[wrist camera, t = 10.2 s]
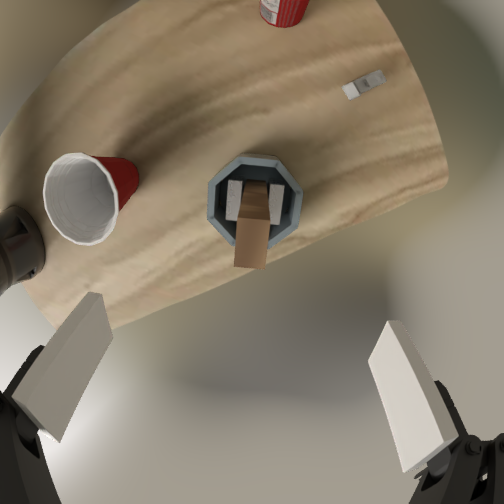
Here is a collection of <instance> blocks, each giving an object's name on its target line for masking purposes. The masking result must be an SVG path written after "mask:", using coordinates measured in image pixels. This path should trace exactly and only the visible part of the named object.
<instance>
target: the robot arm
mask: <svg viewBox="0 0 504 504" xmlns="http://www.w3.org/2000/svg"><path fill="white" fill-rule="evenodd" d="M44 261H45V251H44V245H43V241H42V237H41V235H40V232H39V230H38V228H37V226H36V224H35V222H34V220H33V219H32V218H31V216H30V215H29V214H28V213H27V212H26V211H25V210H23V209H22V208H20V207H17V206H12V207H10V208H8V209H6V210H4V211H2V212H1V213H0V296H1V295H2V294H3V293H4V292H5V291H6V290H7V289H8V288H9V287H10V286H12V285H14V284H17V283H20V282H23V281H26V280H29V279H32V278H33V277H35V276H36V275H37V274H38V273H39V272H40V271H41V270H42V268H43V265H44ZM112 339H113V335H112V332H111V328H110V324H109V321H108V317H107V313H106V309H105V305H104V301H103V297H102V294H99V293H94V292H88V293H87V294H86V296H85V297H84V298H83V299H82V300H81V301H80V303H79V304H78V305H77V306H76V307H75V309H74V310H73V311H72V312H71V314H70V315H69V316H68V317H67V319H66V320H65V321H64V322H63V324H62V325H61V326H60V327H59V329H58V330H57V331H56V333H55V334H54V335H53V337H52V338H51V339H50V341H49V342H48V343H47V345H46V346H42V345H40V346H39V347H37V348H36V349H34V350H33V351H32V352H31V353H30V355H29V356H28V357H27V359H26V362H24V363H23V365H22V366H21V368H20V369H19V370H18V372H17V373H16V375H15V376H14V378H13V379H12V381H11V382H10V384H9V385H8V387H7V389H6V390H5V391H4V392H3V393H2V392H1V391H0V504H61V501H60V499H59V497H58V494H57V492H56V489H55V486H54V484H53V481H52V478H51V475H50V472H49V469H48V466H47V463H46V460H45V456H44V453H43V449H42V445H41V442H40V438H39V436H38V434H37V432H38V430H39V429H40V430H41V432H42V433H43V434H45V436H47V437H49V438H51V439H52V440H54V441H57V442H58V443H60V441H61V439H62V437H63V435H64V432H65V430H66V428H67V426H68V423H69V421H70V419H71V417H72V415H73V413H74V411H75V409H76V407H77V405H78V403H79V401H80V398H81V397H82V395H83V393H84V390H85V389H86V387H87V385H88V383H89V381H90V379H91V377H92V375H93V374H94V372H95V370H96V368H97V366H98V364H99V363H100V360H101V359H102V357H103V355H104V354H105V352H106V350H107V348H108V346H109V345H110V343H111V341H112ZM368 363H369V366H370V369H371V371H372V374H373V377H374V380H375V382H376V385H377V388H378V391H379V394H380V397H381V400H382V403H383V406H384V409H385V412H386V415H387V418H388V421H389V424H390V428H391V431H392V434H393V438H394V441H395V444H396V448H397V451H398V455H399V458H400V462H401V466H402V470H403V473H405V472H409V471H411V470H414V469H418V468H419V467H421V466H422V465H424V464H425V463H426V462H427V466H428V467H427V468H425V469H424V470H422V471H421V472H419V473H418V474H417V475H416V476H415V478H414V479H416V478H418V477H420V476H421V475H422V477H421V478H420V479H419V481H420V482H419V484H418V486H417V488H416V490H415V492H414V494H413V496H412V498H411V500H410V502H409V504H504V433H501V434H499V435H498V436H497V437H496V438H495V439H494V440H490V441H481V440H480V439H479V438H478V437H477V436H475V435H468V433H467V431H466V429H465V427H464V425H463V422H462V420H461V418H460V416H459V413H458V411H457V409H456V407H454V403H453V401H452V399H451V397H450V395H449V393H448V391H447V389H446V387H445V386H444V385H442V383H441V382H440V381H439V380H438V381H433V379H432V377H431V375H430V373H429V371H428V369H427V367H426V365H425V364H424V361H423V360H422V358H421V356H420V354H419V352H418V350H417V349H416V347H415V345H414V344H413V341H412V340H411V338H410V336H409V334H408V333H407V331H406V329H405V328H404V326H403V324H402V322H401V321H387V323H386V325H385V327H384V330H383V331H382V334H381V336H380V338H379V340H378V342H377V344H376V346H375V348H374V350H373V352H372V354H371V356H370V358H369V360H368ZM486 473H487V479H485V480H483V479H482V476H483V475H485V474H486Z"/></svg>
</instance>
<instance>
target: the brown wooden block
mask: <svg viewBox="0 0 504 504" xmlns="http://www.w3.org/2000/svg"><path fill="white" fill-rule="evenodd" d="M270 222H271V220H270V211H269V203H268V195H267V187H266V181H264V180H254V179H247V181H246V185H245V188H244V192H243V196H242V200H241V205H240V209H239V213H238V217H237V229H236V243H235V258H234V267H244V268H256V269H265V263H266V255H267V247H268V238H269V230H270Z"/></svg>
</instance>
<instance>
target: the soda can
mask: <svg viewBox="0 0 504 504" xmlns="http://www.w3.org/2000/svg"><path fill="white" fill-rule="evenodd" d="M308 2H309V0H260V14H261V16H262V18H263V19H264V20H265V21H266V22H267V23H268V24H270V25H273V26H275V27H283V28H287V27H292V26H294V25H296V24H298V23H299V22H300V21H301V19H302V17H303V15H304V12H305V10H306V7H307V5H308Z"/></svg>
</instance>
